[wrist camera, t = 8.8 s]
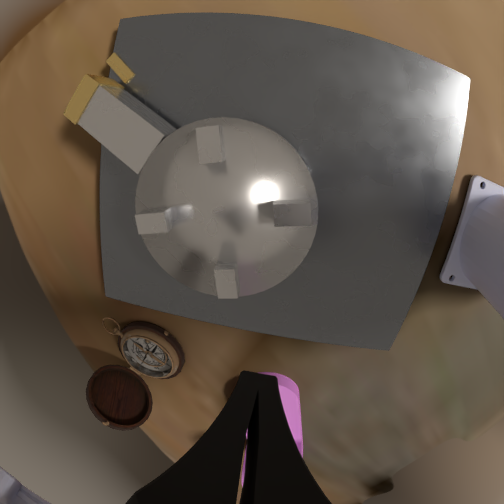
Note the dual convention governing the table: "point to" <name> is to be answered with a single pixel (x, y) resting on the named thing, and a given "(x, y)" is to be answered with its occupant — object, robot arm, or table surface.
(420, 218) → the plate
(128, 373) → the compass
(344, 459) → the table surface
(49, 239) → the table surface
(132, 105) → the silver disc with handle
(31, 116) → the table surface
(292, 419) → the bracket
